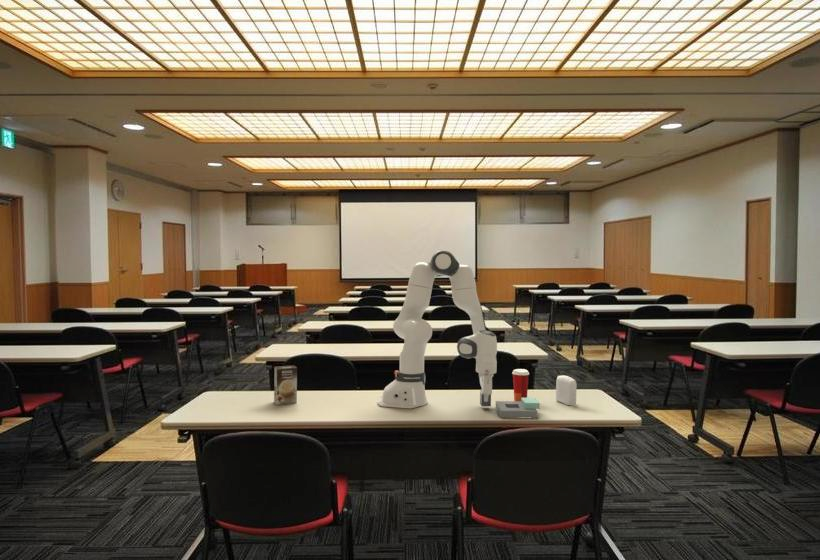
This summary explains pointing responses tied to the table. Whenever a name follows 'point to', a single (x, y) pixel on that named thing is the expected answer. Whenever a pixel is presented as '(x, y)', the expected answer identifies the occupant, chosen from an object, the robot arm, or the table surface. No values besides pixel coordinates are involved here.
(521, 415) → the socket
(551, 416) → the table surface
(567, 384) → the book
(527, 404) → the mint green block
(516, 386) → the paper cup
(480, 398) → the plug
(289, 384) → the coffee box
